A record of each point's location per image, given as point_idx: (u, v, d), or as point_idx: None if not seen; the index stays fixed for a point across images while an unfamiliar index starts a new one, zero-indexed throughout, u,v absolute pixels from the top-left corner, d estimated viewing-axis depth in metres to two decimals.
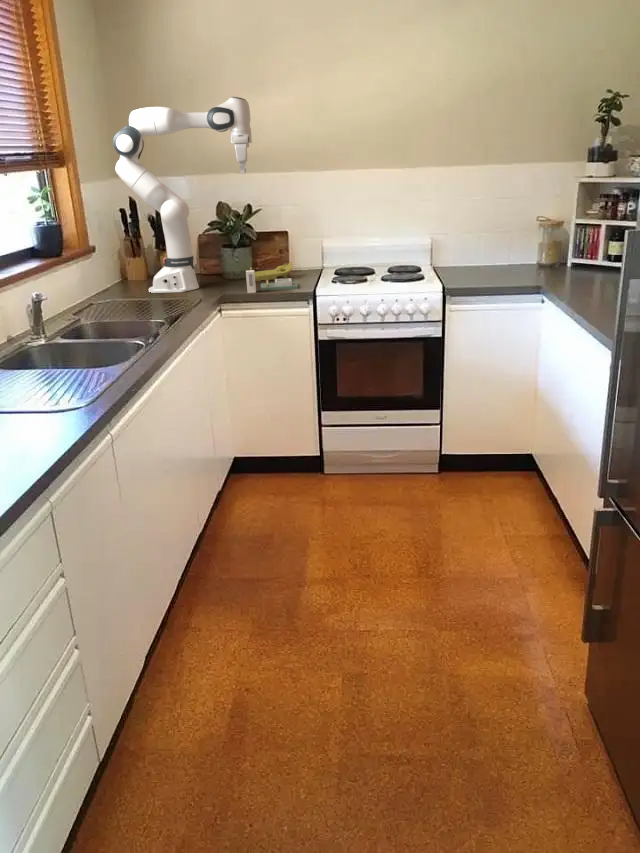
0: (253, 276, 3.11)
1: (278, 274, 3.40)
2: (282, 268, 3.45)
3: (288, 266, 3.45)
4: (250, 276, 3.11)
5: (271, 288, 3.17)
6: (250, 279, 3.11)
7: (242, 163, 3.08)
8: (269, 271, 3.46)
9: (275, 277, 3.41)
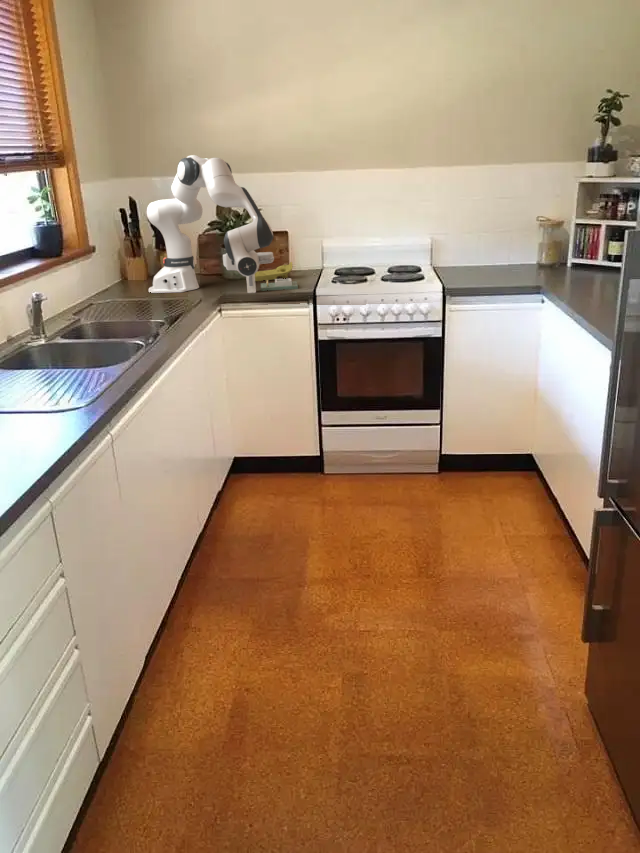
0: (253, 276, 3.11)
1: (278, 274, 3.39)
2: (282, 268, 3.45)
3: (288, 266, 3.44)
4: (250, 276, 3.11)
5: (271, 288, 3.17)
6: (250, 279, 3.11)
7: None
8: (269, 271, 3.45)
9: (275, 277, 3.41)
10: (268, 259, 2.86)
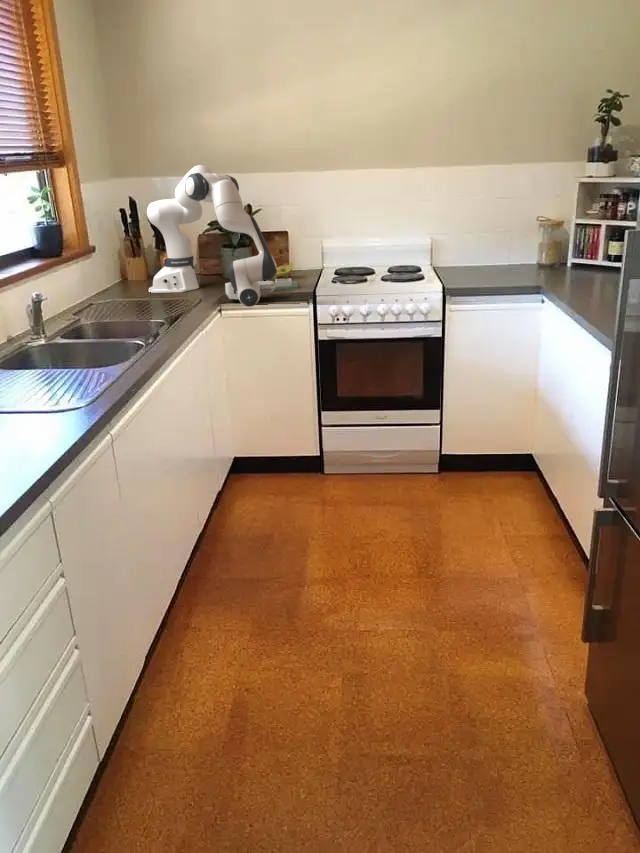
0: None
1: (278, 274, 3.39)
2: (283, 268, 3.44)
3: (289, 266, 3.44)
4: None
5: None
6: None
7: None
8: None
9: (275, 277, 3.40)
10: (269, 288, 2.94)
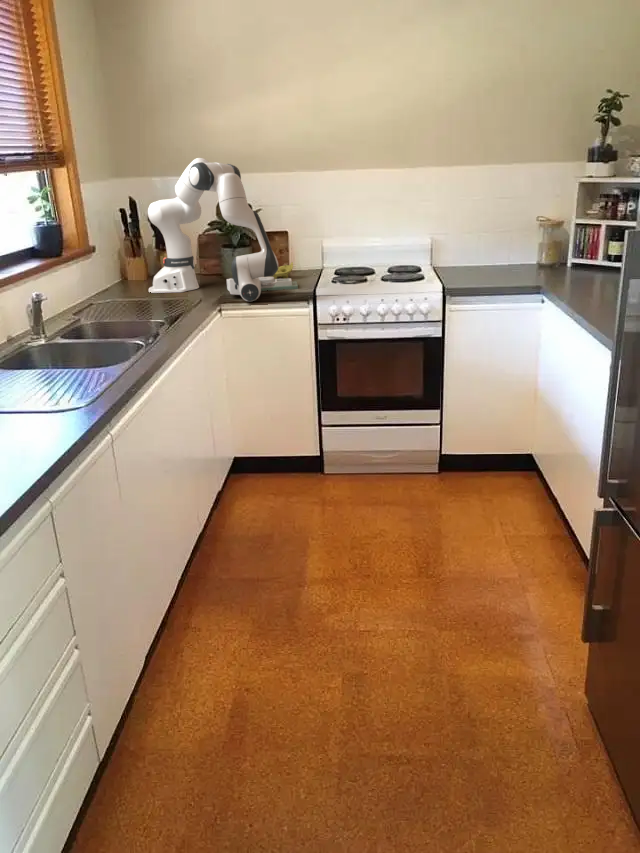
0: None
1: (278, 274, 3.39)
2: (283, 268, 3.44)
3: (289, 266, 3.43)
4: None
5: (271, 288, 3.17)
6: None
7: None
8: None
9: (275, 277, 3.40)
10: (269, 284, 3.02)
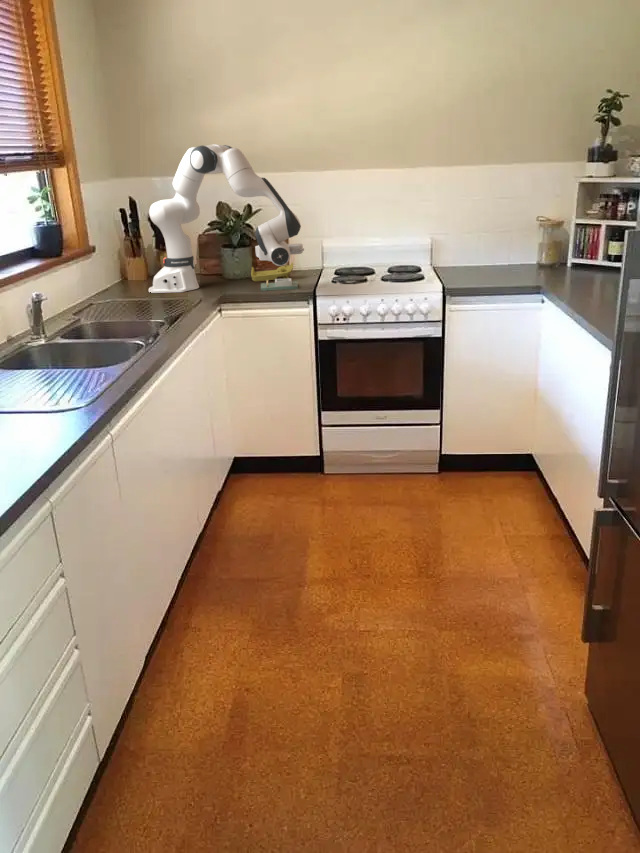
0: None
1: (278, 275, 3.38)
2: (283, 268, 3.43)
3: (289, 267, 3.43)
4: None
5: (271, 288, 3.17)
6: None
7: None
8: (271, 271, 3.45)
9: (275, 277, 3.40)
10: (298, 250, 3.04)
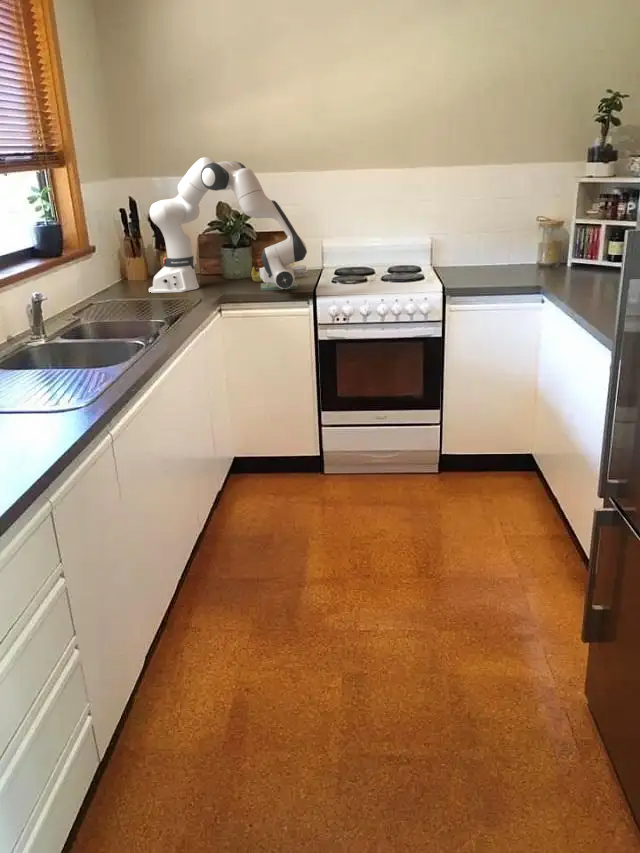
0: None
1: None
2: None
3: None
4: None
5: (271, 288, 3.17)
6: None
7: None
8: None
9: None
10: (302, 272, 3.09)
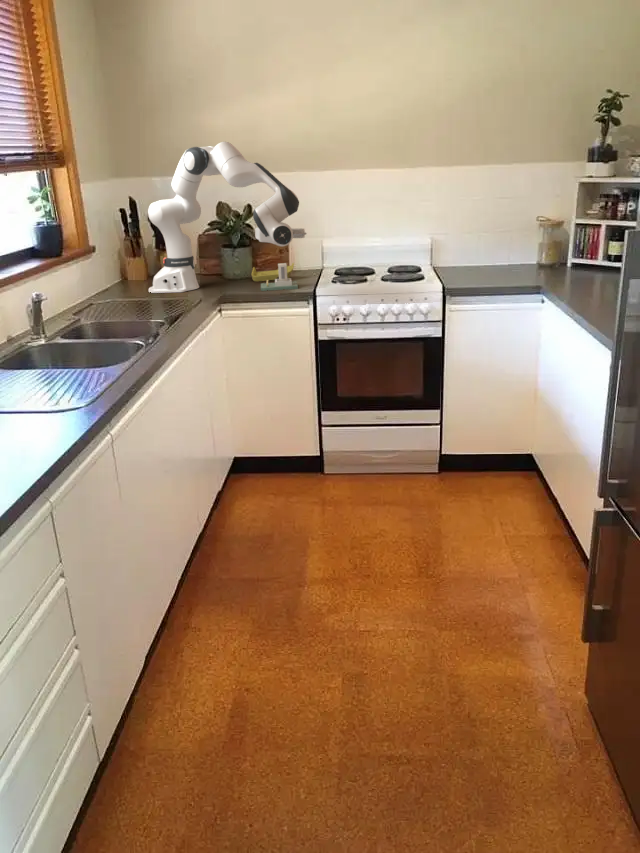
0: (285, 269, 3.18)
1: (278, 275, 3.38)
2: None
3: (290, 267, 3.41)
4: (282, 269, 3.18)
5: (271, 288, 3.17)
6: (282, 272, 3.18)
7: None
8: (272, 271, 3.44)
9: (275, 278, 3.39)
10: (300, 233, 2.91)
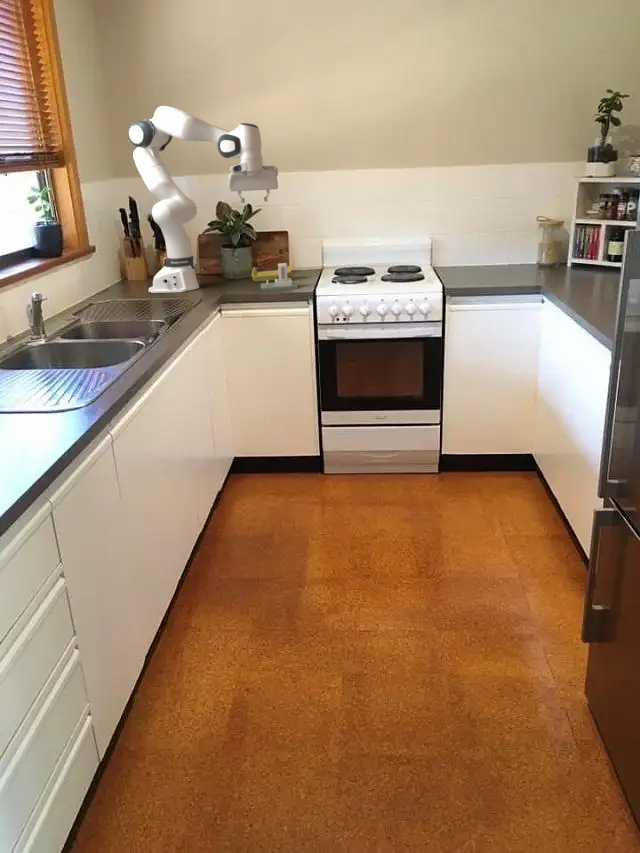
0: (285, 269, 3.18)
1: (277, 275, 3.37)
2: None
3: (290, 267, 3.41)
4: (282, 269, 3.18)
5: (271, 288, 3.17)
6: (282, 272, 3.18)
7: None
8: (272, 272, 3.44)
9: (275, 278, 3.38)
10: None
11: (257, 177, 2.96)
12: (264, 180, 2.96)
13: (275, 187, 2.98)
